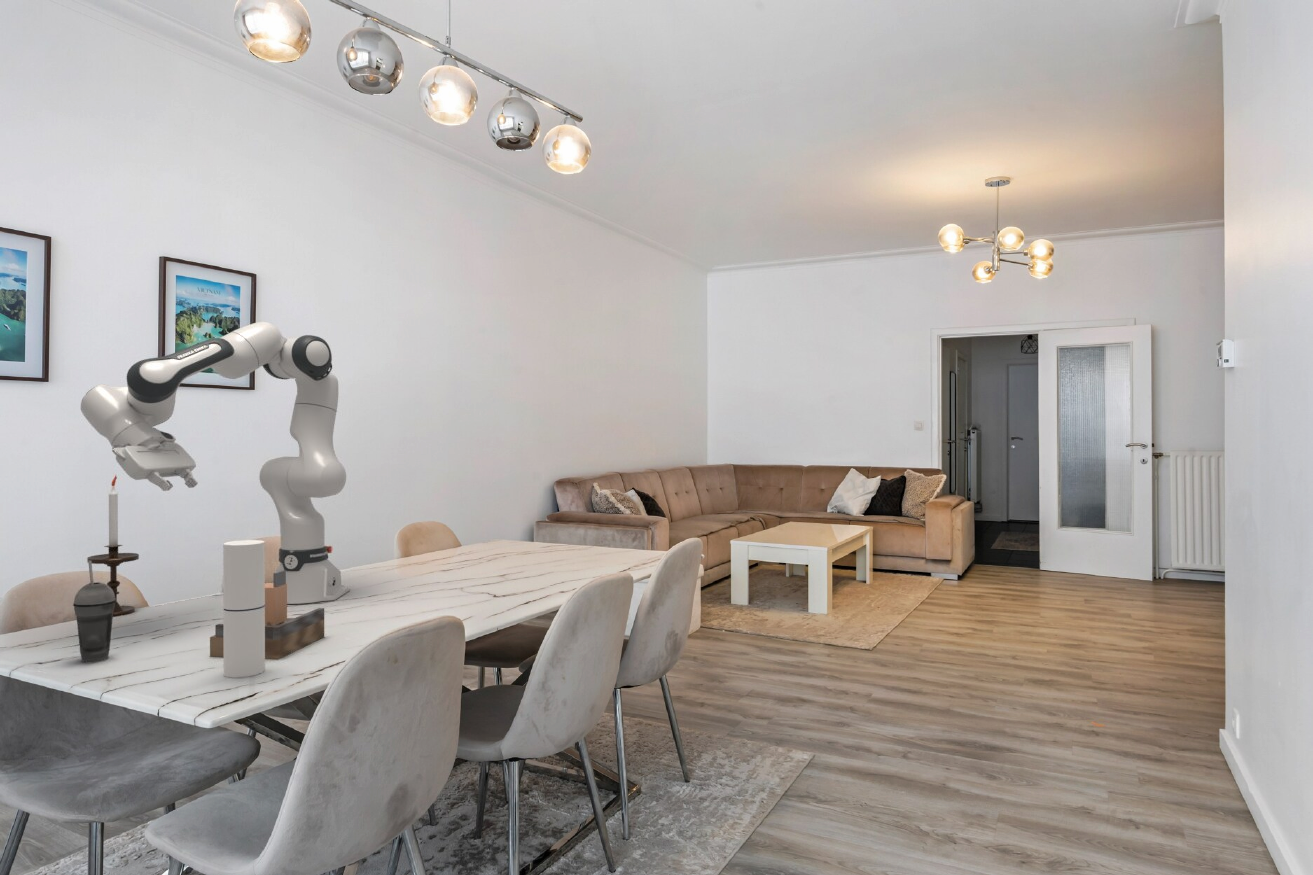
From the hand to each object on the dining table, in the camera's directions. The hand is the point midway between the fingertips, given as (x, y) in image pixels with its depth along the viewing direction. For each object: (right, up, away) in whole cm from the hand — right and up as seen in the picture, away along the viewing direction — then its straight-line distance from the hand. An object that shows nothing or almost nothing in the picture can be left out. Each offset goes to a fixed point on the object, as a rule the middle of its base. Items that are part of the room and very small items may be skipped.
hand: (181, 487), depth 187 cm
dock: (+25, -34, -11) cm, 43 cm away
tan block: (+25, -29, -11) cm, 40 cm away
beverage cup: (-5, -34, -21) cm, 40 cm away
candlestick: (-29, -33, +20) cm, 48 cm away
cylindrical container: (+29, -34, -29) cm, 53 cm away
